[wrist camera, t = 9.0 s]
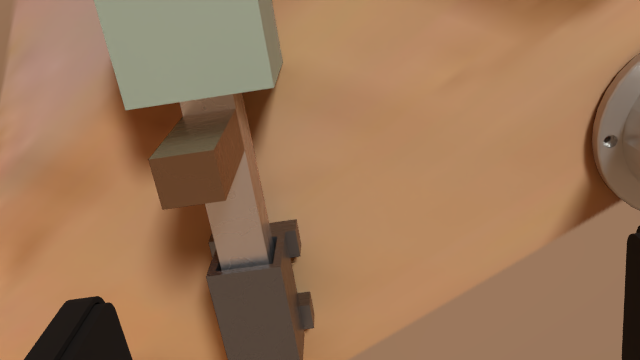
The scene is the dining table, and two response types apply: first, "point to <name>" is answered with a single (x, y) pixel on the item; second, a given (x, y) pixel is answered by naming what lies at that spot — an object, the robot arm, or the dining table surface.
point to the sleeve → (262, 302)
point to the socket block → (189, 48)
